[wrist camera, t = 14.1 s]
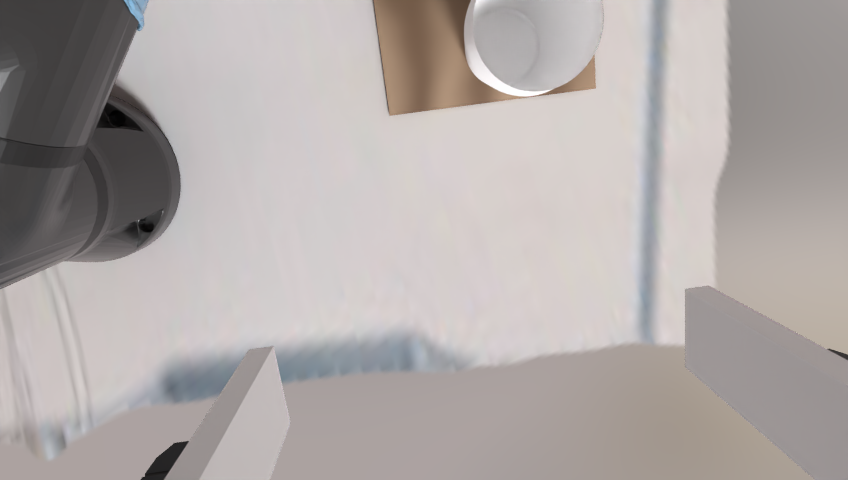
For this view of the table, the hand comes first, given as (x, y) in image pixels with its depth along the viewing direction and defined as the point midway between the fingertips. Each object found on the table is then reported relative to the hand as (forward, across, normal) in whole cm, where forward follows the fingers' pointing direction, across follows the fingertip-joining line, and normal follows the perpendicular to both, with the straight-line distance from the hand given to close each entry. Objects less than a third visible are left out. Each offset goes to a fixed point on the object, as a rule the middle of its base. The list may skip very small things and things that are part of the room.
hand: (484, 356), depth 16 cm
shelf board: (+33, +7, +14) cm, 36 cm away
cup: (+32, +8, +12) cm, 36 cm away
